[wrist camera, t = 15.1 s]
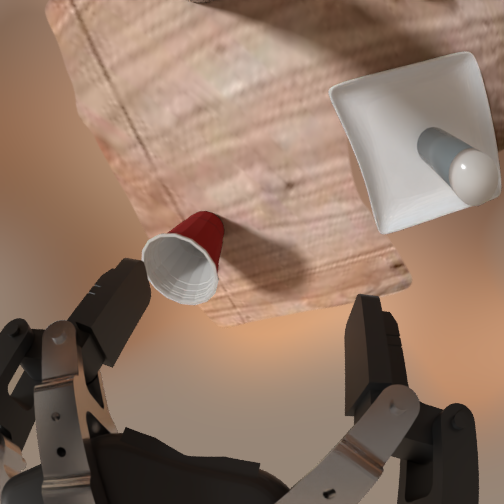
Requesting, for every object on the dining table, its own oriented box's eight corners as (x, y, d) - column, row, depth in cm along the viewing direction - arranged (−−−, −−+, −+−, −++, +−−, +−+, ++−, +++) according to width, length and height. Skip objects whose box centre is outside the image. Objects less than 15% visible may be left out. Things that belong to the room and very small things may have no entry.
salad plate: (493, 188, 32) (504, 197, 30) (376, 226, 41) (380, 238, 38) (462, 49, 23) (474, 49, 20) (323, 87, 32) (324, 88, 29)
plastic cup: (204, 180, 41) (170, 220, 32) (254, 233, 45) (236, 285, 35) (161, 219, 47) (124, 263, 37) (206, 264, 50) (182, 315, 41)
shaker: (420, 121, 28) (463, 146, 19) (455, 132, 27) (504, 162, 18) (412, 160, 31) (448, 199, 22) (446, 170, 30) (488, 211, 21)
